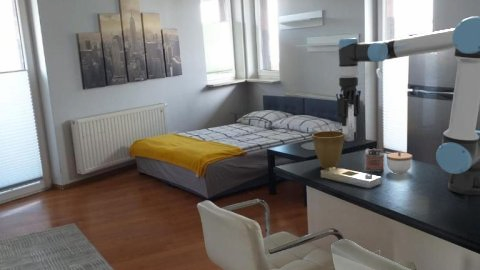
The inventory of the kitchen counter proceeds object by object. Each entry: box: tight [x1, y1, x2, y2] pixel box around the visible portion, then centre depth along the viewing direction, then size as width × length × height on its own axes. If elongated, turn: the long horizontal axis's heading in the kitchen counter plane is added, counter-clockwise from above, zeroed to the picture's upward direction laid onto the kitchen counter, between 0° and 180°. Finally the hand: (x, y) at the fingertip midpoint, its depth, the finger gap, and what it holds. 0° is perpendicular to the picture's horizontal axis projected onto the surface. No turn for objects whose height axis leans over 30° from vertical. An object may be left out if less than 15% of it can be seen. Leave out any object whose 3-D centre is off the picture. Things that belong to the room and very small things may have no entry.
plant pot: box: [311, 130, 345, 169], centre depth 228 cm, size 15×15×16 cm
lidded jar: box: [386, 151, 413, 175], centre depth 213 cm, size 11×11×9 cm
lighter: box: [365, 148, 385, 172], centre depth 218 cm, size 8×3×10 cm, turn 62°
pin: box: [344, 104, 355, 142], centre depth 202 cm, size 4×4×15 cm
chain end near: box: [338, 172, 382, 189], centre depth 202 cm, size 16×8×4 cm, turn 39°
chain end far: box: [320, 166, 362, 182], centre depth 210 cm, size 16×8×4 cm, turn 39°
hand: (349, 132), depth 203 cm, fingers closed on pin, 4 cm apart
